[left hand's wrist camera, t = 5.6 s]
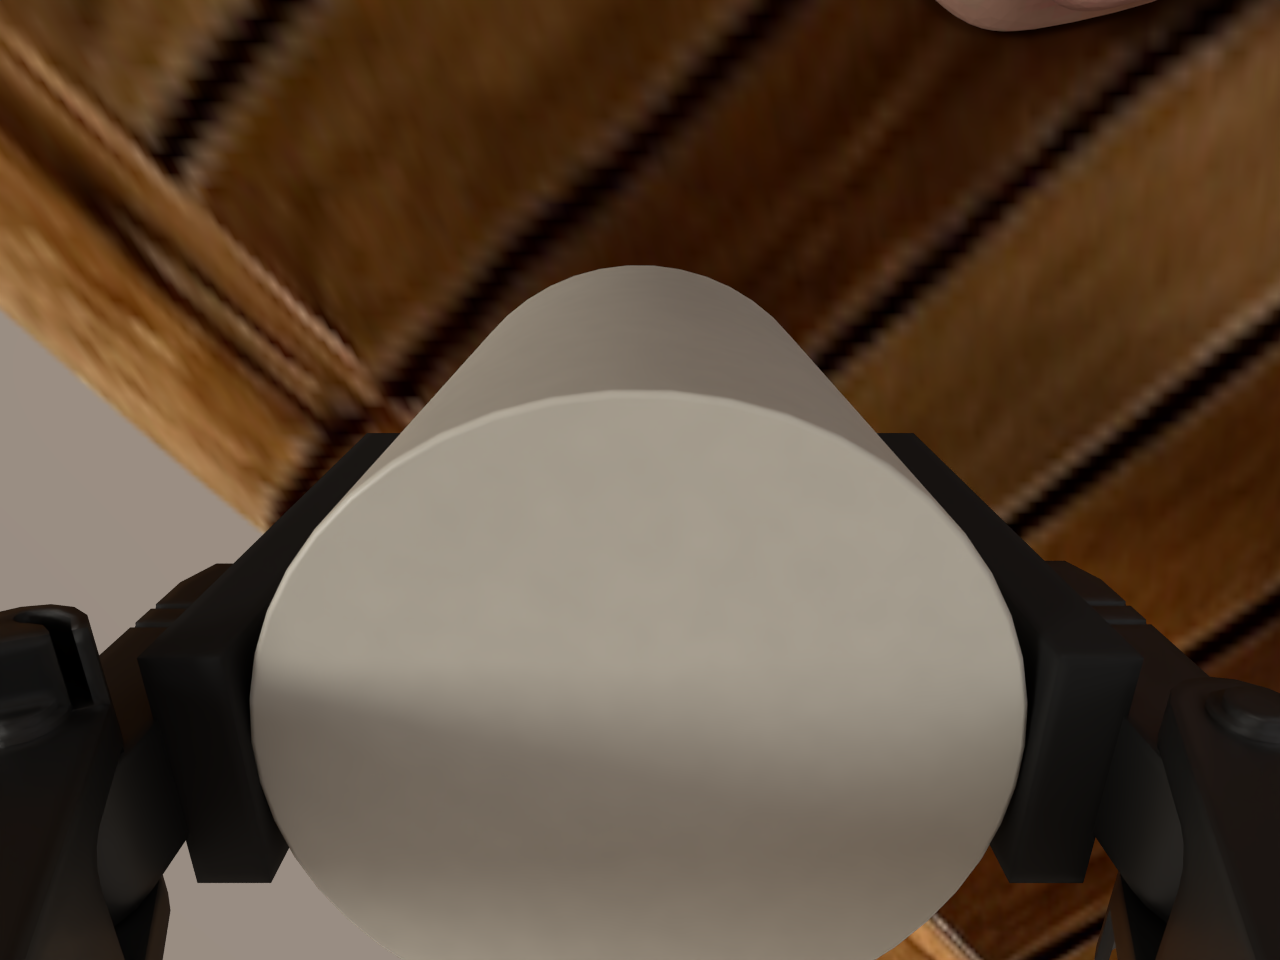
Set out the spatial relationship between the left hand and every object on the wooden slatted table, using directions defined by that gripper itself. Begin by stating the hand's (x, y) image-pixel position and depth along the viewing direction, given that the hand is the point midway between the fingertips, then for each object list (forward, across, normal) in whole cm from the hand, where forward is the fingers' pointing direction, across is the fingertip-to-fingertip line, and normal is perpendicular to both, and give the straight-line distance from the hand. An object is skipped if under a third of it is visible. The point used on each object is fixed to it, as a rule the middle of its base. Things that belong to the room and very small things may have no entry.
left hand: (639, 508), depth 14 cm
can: (+3, 0, 0) cm, 3 cm away
